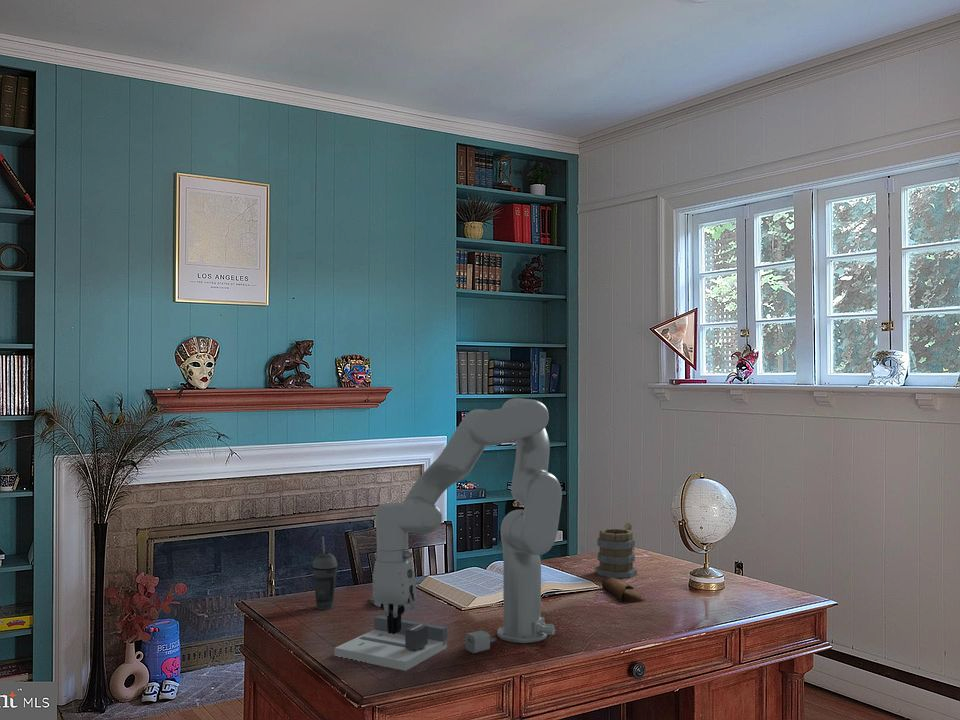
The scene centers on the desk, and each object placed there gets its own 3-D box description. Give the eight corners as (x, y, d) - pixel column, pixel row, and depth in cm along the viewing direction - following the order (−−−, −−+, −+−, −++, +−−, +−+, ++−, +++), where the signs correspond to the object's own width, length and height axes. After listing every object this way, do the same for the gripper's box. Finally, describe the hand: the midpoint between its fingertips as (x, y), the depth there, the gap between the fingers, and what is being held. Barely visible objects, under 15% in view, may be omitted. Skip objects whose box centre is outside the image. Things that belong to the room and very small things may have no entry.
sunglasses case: (649, 601, 245) (638, 582, 244) (629, 614, 244) (618, 595, 243) (627, 586, 263) (616, 568, 262) (608, 598, 261) (598, 580, 261)
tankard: (626, 580, 270) (626, 533, 271) (590, 575, 277) (590, 529, 277) (649, 567, 287) (649, 523, 287) (615, 563, 294) (615, 520, 294)
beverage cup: (320, 613, 233) (320, 540, 234) (307, 607, 239) (307, 536, 239) (342, 608, 238) (343, 537, 238) (329, 602, 244) (329, 533, 244)
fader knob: (427, 644, 199) (427, 625, 199) (416, 650, 195) (416, 630, 195) (416, 642, 200) (417, 623, 201) (405, 648, 196) (405, 628, 196)
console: (447, 647, 204) (447, 626, 204) (405, 670, 188) (405, 648, 188) (379, 635, 214) (379, 615, 214) (334, 656, 198) (334, 634, 198)
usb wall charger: (465, 649, 203) (465, 632, 203) (489, 644, 207) (488, 627, 207) (475, 654, 200) (475, 637, 200) (498, 648, 204) (498, 631, 204)
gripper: (427, 554, 201) (429, 631, 201) (376, 549, 208) (378, 623, 208) (410, 561, 194) (412, 641, 194) (357, 556, 202) (359, 632, 202)
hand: (394, 632), depth 201 cm, fingers closed
